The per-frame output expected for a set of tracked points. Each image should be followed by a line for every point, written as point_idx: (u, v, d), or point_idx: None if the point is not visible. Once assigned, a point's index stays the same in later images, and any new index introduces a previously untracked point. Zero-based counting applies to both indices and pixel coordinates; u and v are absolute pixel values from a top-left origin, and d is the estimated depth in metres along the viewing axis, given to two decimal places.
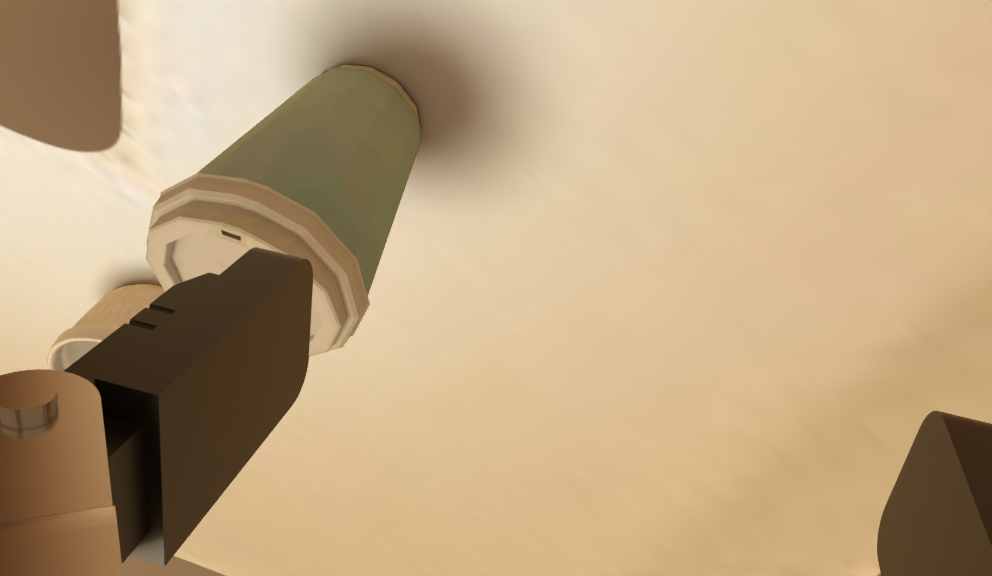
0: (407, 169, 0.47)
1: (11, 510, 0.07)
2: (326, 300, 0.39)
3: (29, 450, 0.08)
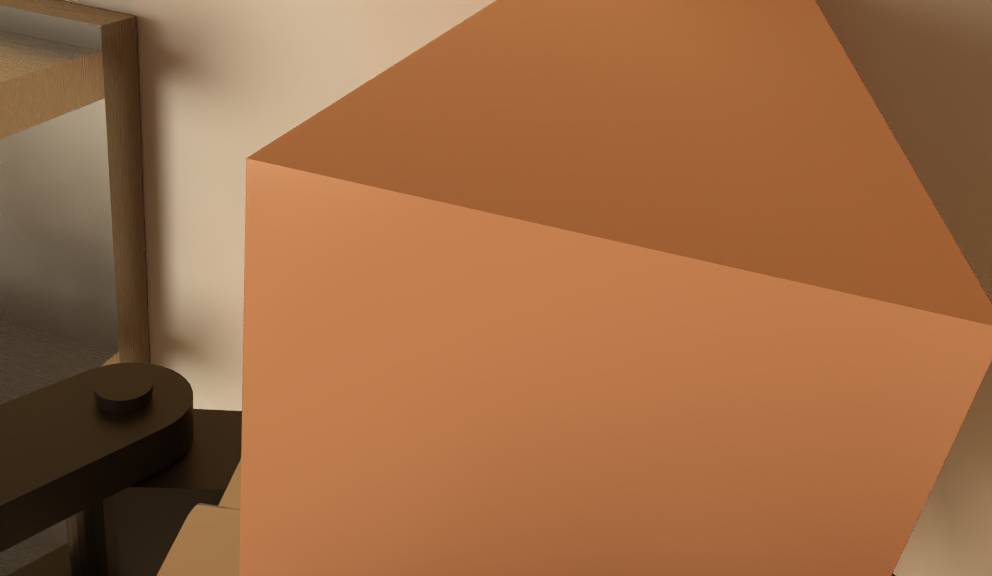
0: None
1: None
2: None
3: None
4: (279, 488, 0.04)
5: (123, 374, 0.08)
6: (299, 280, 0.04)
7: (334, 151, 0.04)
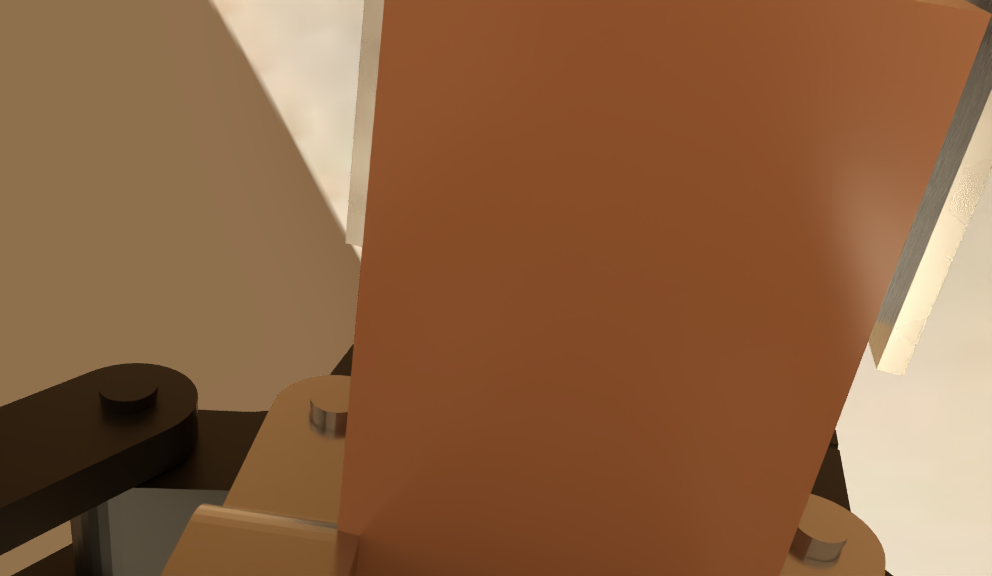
0: None
1: None
2: None
3: (323, 450, 0.08)
4: (397, 212, 0.05)
5: (129, 374, 0.08)
6: (428, 15, 0.05)
7: None
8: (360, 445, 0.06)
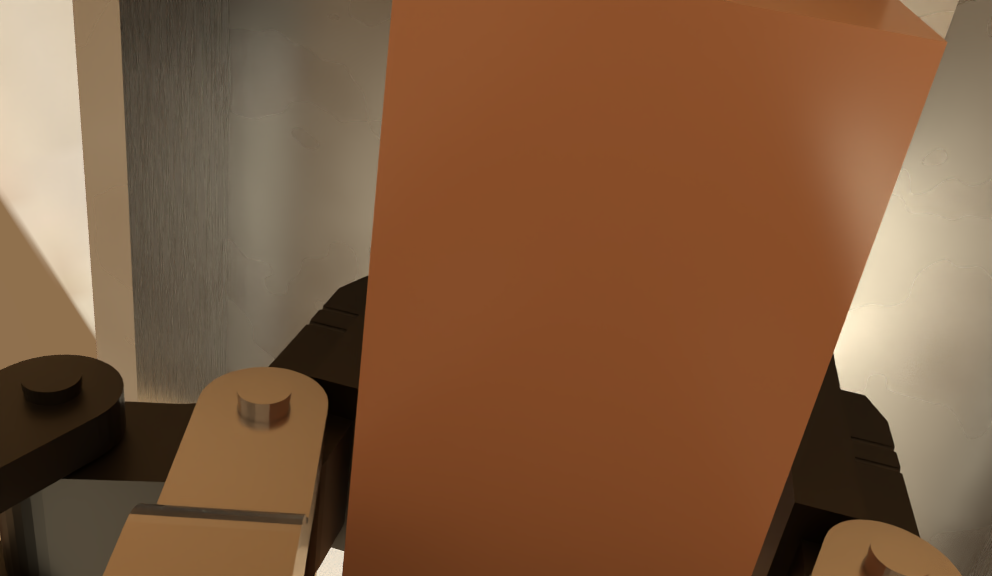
0: None
1: (283, 497, 0.07)
2: None
3: (254, 443, 0.08)
4: (402, 219, 0.06)
5: (49, 366, 0.08)
6: (430, 39, 0.05)
7: None
8: (367, 435, 0.07)
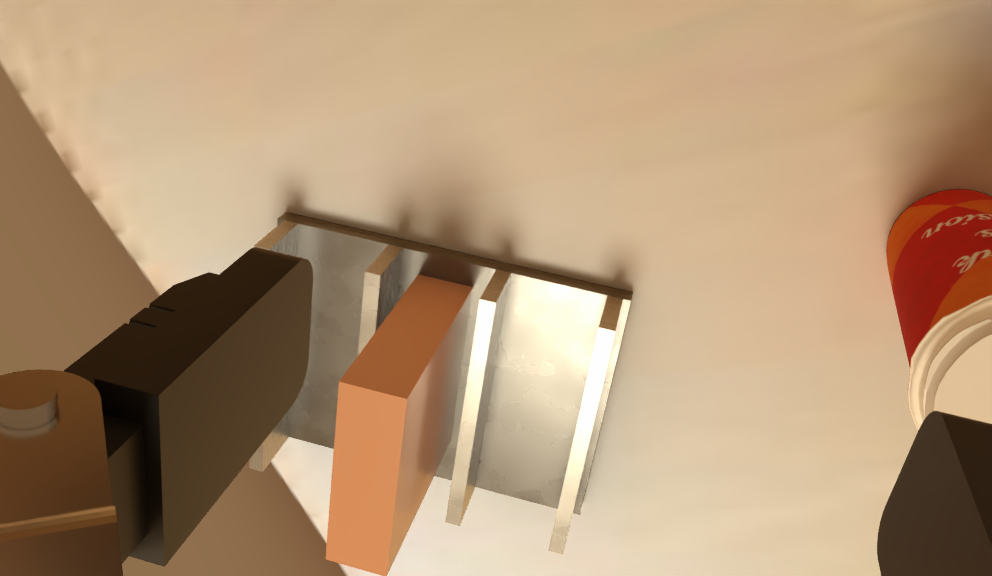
0: None
1: (11, 510, 0.07)
2: None
3: (29, 450, 0.08)
4: (340, 415, 0.39)
5: None
6: (343, 393, 0.38)
7: (347, 379, 0.38)
8: (336, 447, 0.39)
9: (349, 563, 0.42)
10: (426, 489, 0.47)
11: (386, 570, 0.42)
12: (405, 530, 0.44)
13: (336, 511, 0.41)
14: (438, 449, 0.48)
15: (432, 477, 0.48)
